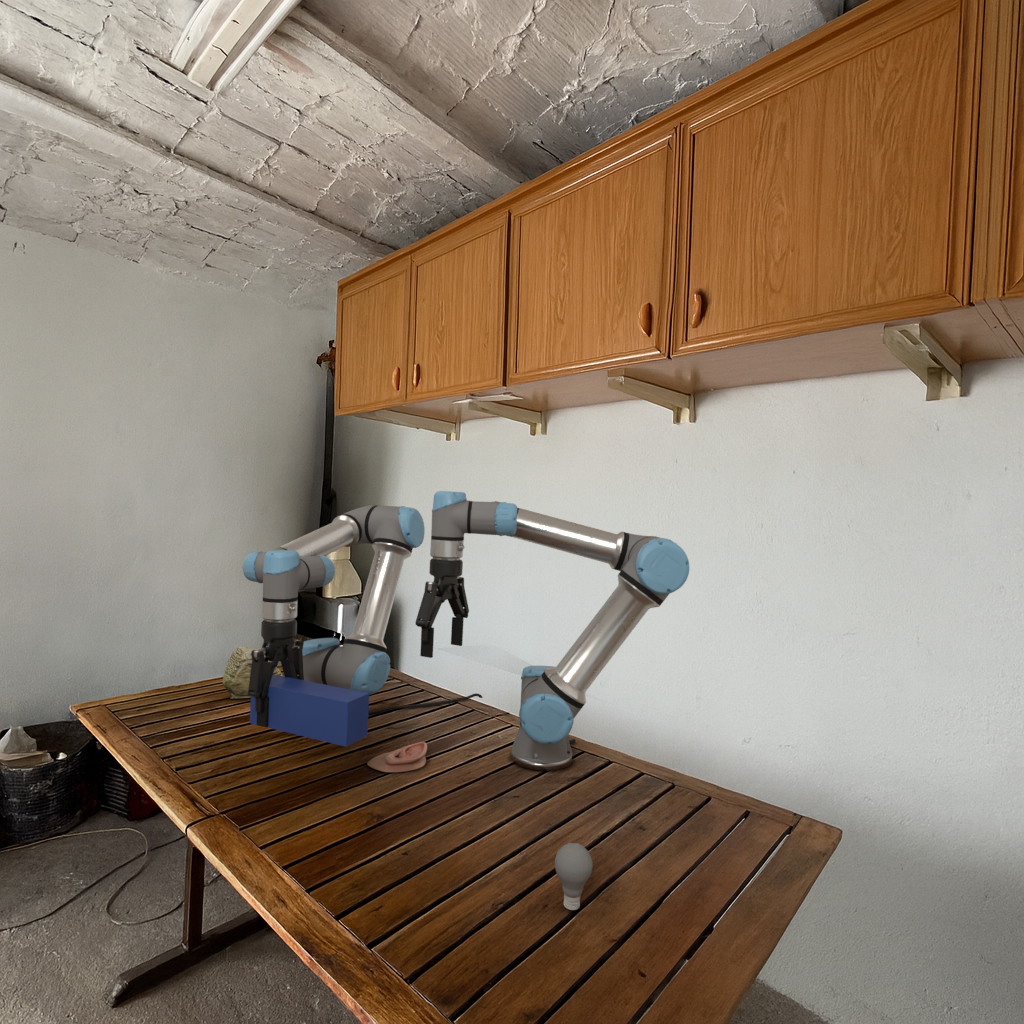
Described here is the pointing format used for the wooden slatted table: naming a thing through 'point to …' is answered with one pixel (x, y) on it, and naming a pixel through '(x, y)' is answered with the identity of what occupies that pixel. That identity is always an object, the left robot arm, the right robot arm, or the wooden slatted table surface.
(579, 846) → the light bulb
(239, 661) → the fossil
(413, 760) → the anatomical model
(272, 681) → the box
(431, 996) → the wooden slatted table surface
